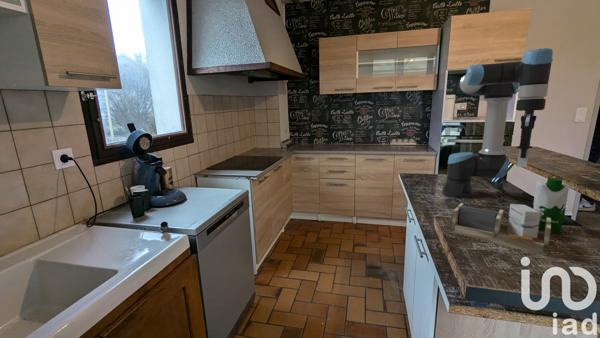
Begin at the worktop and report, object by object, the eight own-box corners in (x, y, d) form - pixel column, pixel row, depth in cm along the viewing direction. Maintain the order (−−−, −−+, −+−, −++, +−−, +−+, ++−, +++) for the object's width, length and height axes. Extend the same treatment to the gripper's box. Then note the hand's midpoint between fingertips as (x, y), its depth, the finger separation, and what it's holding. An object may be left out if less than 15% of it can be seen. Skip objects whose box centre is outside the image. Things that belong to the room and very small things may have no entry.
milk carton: (533, 230, 104) (540, 179, 100) (528, 222, 112) (535, 174, 108) (564, 234, 100) (573, 181, 96) (557, 226, 107) (565, 176, 103)
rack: (459, 223, 112) (460, 202, 110) (546, 242, 94) (550, 217, 93) (451, 233, 103) (453, 210, 102) (546, 256, 86) (550, 229, 84)
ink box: (537, 246, 90) (542, 212, 88) (520, 245, 91) (525, 211, 88) (520, 234, 98) (525, 203, 96) (505, 234, 99) (509, 203, 97)
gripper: (518, 99, 99) (510, 162, 104) (515, 99, 90) (506, 168, 95) (546, 97, 94) (536, 164, 99) (545, 97, 85) (534, 171, 90)
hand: (521, 166), depth 97 cm, fingers closed
